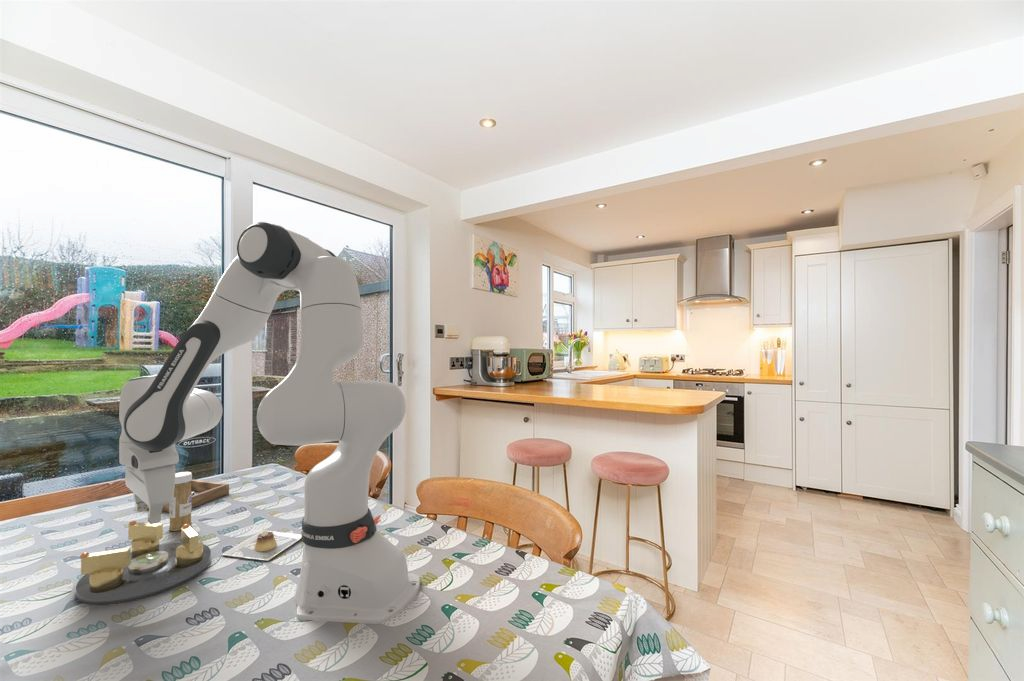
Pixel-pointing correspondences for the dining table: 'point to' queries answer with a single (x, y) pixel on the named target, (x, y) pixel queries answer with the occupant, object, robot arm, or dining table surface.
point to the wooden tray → (204, 492)
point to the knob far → (144, 537)
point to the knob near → (189, 548)
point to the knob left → (105, 568)
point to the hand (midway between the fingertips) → (147, 516)
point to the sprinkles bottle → (181, 502)
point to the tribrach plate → (146, 577)
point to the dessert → (263, 543)
